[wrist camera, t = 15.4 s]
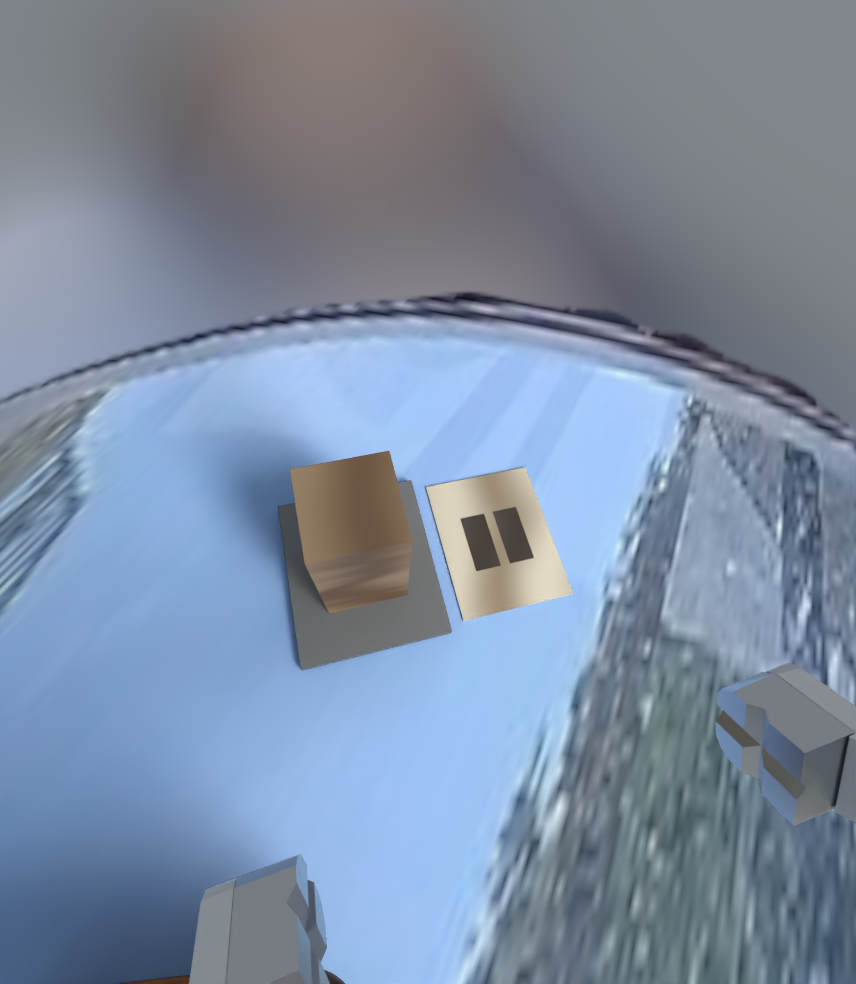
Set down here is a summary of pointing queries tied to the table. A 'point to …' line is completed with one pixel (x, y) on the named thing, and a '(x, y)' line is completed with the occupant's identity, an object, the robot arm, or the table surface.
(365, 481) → the walnut block
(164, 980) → the tin
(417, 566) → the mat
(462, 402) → the table surface
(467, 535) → the placard
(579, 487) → the table surface
